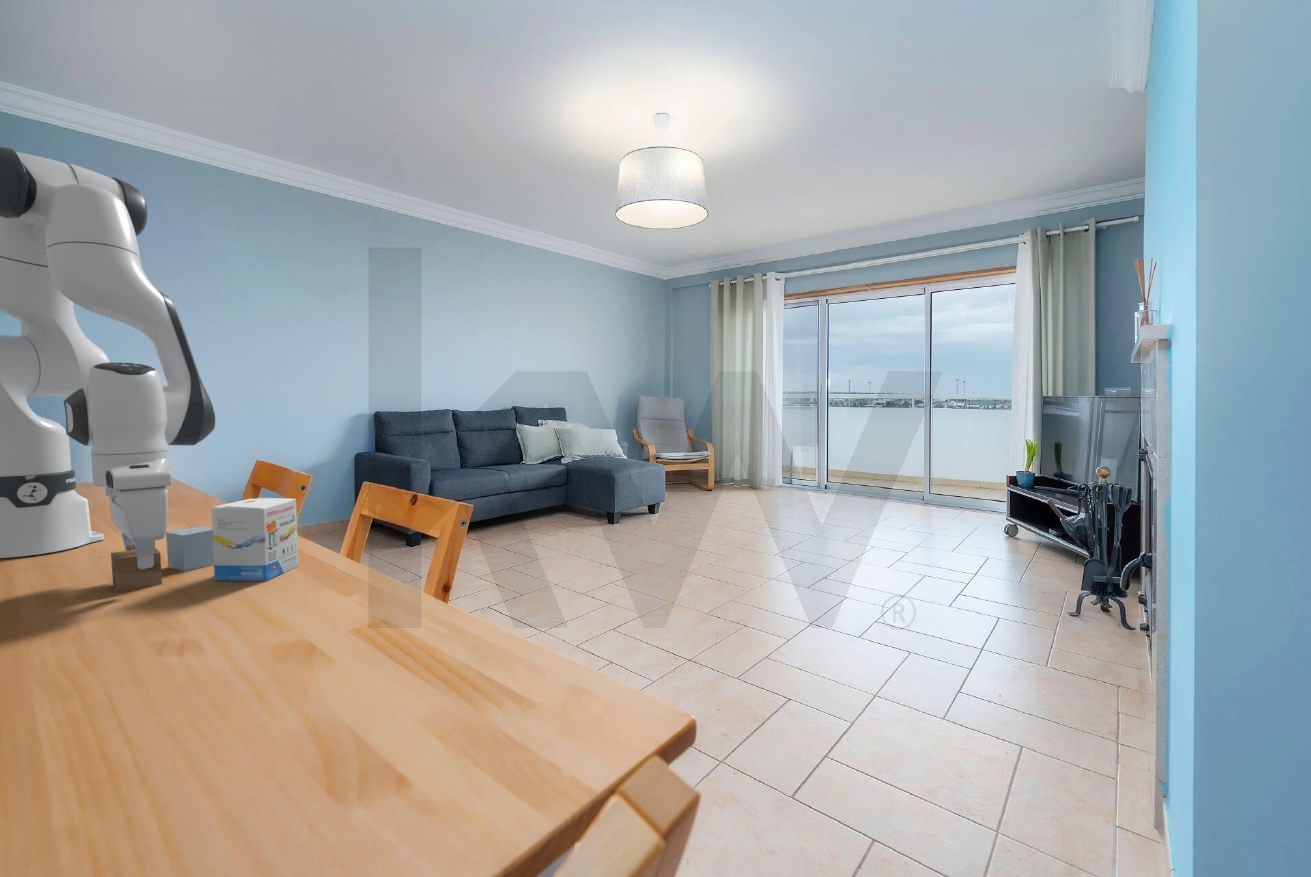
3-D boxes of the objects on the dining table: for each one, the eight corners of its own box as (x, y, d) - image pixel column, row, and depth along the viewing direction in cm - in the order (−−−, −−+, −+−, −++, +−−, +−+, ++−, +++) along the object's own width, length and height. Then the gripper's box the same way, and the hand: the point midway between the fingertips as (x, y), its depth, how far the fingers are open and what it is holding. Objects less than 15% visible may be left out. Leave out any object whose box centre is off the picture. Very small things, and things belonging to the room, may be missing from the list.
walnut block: (113, 585, 90) (110, 553, 89) (155, 577, 94) (153, 546, 93) (118, 592, 87) (116, 559, 86) (162, 584, 90) (160, 552, 90)
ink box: (266, 582, 92) (263, 507, 91) (212, 581, 92) (208, 506, 91) (301, 565, 100) (298, 497, 99) (251, 565, 100) (248, 496, 100)
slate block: (168, 567, 99) (166, 532, 98) (201, 559, 103) (200, 526, 103) (184, 571, 97) (182, 535, 96) (218, 563, 101) (216, 529, 101)
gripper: (94, 468, 93) (101, 554, 94) (115, 479, 80) (122, 580, 81) (146, 464, 98) (152, 546, 99) (174, 474, 85) (180, 569, 86)
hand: (139, 561), depth 90 cm, fingers open, 8 cm apart
